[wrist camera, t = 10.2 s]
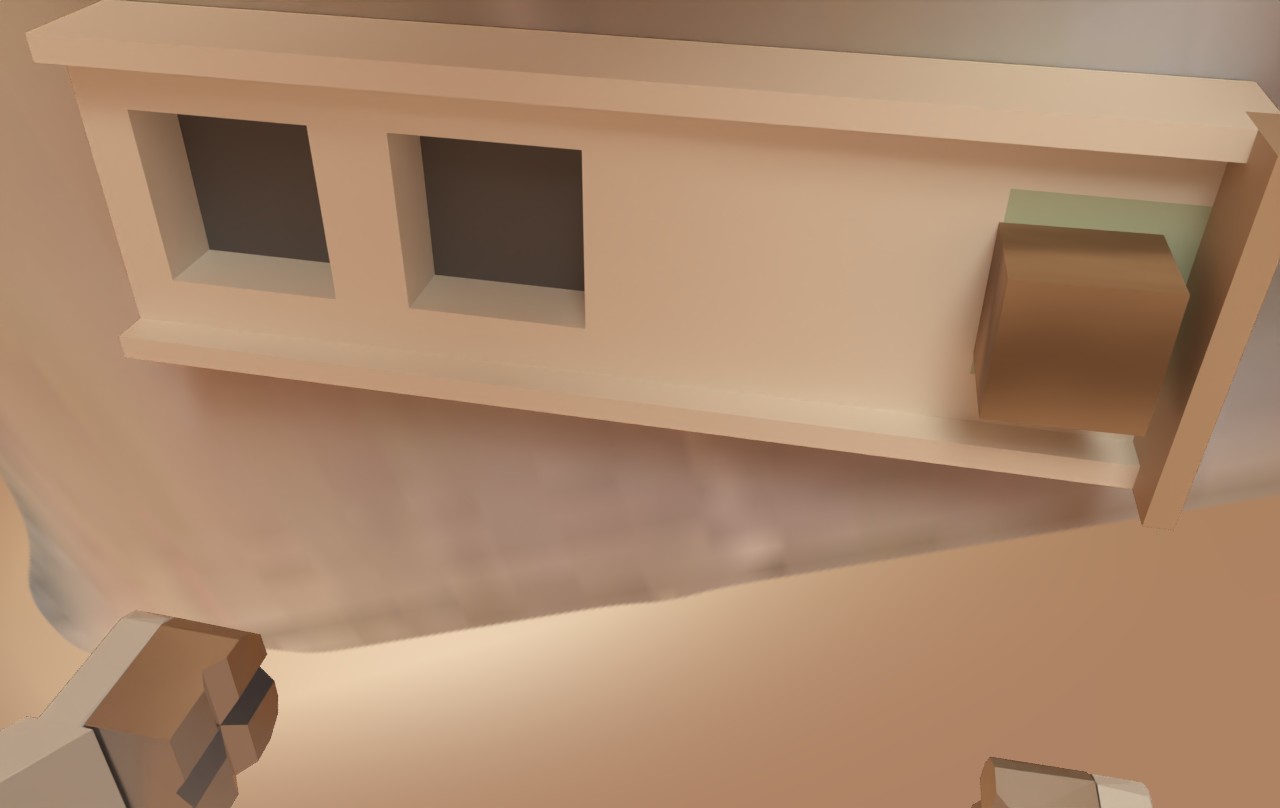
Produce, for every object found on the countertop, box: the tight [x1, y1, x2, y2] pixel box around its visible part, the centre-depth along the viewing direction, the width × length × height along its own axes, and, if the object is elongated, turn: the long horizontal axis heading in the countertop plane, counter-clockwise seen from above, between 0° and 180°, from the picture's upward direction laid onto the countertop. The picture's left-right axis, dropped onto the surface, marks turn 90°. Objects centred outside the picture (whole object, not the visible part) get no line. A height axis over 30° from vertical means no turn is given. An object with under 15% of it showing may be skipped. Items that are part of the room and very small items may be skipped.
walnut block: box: [973, 222, 1190, 437], centre depth 34 cm, size 5×5×4 cm
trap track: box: [25, 0, 1280, 530], centre depth 38 cm, size 13×40×6 cm, turn 89°
